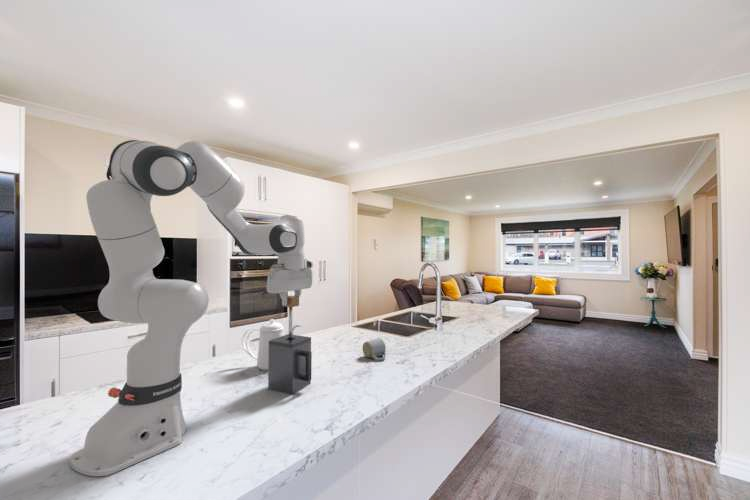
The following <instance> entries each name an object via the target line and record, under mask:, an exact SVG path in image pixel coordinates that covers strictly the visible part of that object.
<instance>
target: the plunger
mask: <svg viewBox="0 0 750 500" xmlns="http://www.w3.org/2000/svg"><path fill="white" fill-rule="evenodd" d="M286 297H287V300H289V305H282V304H281V306H282V307H283V308H285V307H286V308H288V334H289V340H292V328H293V308H294V307H299V306H300V297H299V296H294V295H286Z"/></svg>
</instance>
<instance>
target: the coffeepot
mask: <svg viewBox="0 0 750 500" xmlns="http://www.w3.org/2000/svg"><path fill="white" fill-rule="evenodd" d="M299 327H304V325H303V324H295V325H293V326H292V335H294V330H295V329H296V328H299ZM284 329H285V327H284V326H283V324H282V323H281V322H275V319H269V322H265V323H264V324H262V325H261V326H260V328H258V327H254V328H250V329H248V330H246V331H245V332H244V334H243V336H242V347H243V349H244V350H245V352H246V353H247V355H249V356H250V357H251V358H253V359H255V360H257V362H256V366H257V368H258V369H260V370H263V371H268V364H269V341H270V340H273V339H276V338H278V337H281V336H284V335H285V333H284ZM251 330H252V331H251ZM249 331H250V332H249ZM254 331H259V339H258V350H257V356H256V355H254V353H253V352H252V351H251V349H250V347H249V338H250V335H251V334H252V333H253V332H254ZM248 332H249V333H248ZM247 333H248V335H247V337H246V334H247ZM245 337H246V343H245Z"/></svg>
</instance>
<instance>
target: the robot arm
mask: <svg viewBox="0 0 750 500" xmlns="http://www.w3.org/2000/svg"><path fill="white" fill-rule="evenodd" d="M105 175H106V178H107V180H106V179H105V180H103V181H100V182H98V183H96V184H94V185H92V186H91V187H90V188H89V189H88V190H87V192H86V199H85V200H86V205H87V208H88V209H87V211H88V214H89V218H90V223H91V225H92V228H93V230H94V233H95V235H96V238H97V240H98V243H99V246H100V247H101V250H102V252H103V255H104V257H105V260H106V262H107V265H108V270H109V278H108V279H109V280H108V283H107V284H106V285H105V286H104V287H103V288H102V289H101V292H100V293H99V295H98V299H97V307H98V310H99V312H100V314H101V316H103V317H105V318H107V319H108V320H111V321H114V322H115V321H116V322H120V323H123V324H124V323H126V324H147V331H146V334H145V337H143V338H142V339H141V340H139V341H137V342H135V343H134V344H133V345H132V346H131V347H130V348H129V350H128V352H127V354H126V382H125V384H124V385H123V386H122V389H120V388H118V387H111V388H110V389H109V390H108V391H107V396H108V397H110V398H113V399H116V398H117V402H116V403H115V404H114V405H112V407H111V408H110V409H109V410H108V411H107V412H106V413H105V414H103V415H102V416H101V417H100V418H99V419H98V420H96V422H95V423H94V424H92V426H90V427H89V429H88V431H87V433H86V436H85V440H84V446H83V448H82V449H79V450H78V451H76V452H74V453H73V454H71V456H70V460H69V465H70V467H71V468H72V469H73V470H74V471H75V472H77V473H79V474H82V475H84V476H91V477H107V476H109V475H112V474H114V473H117V472H119V471H122V470H124V469H126V468H128V467H131V466H133V465H135V464H138V463H139V462H142V461H144V460H147V459H149V458H150V457H153V456H156V455H158V454H160V453H162V452H164V451H167V450H169V449H172V448H174V447H175V446H178V445H180V444H181V443H182V441H183V435H184V434H185V432H186V431H187V427H188V426H187V423H186V421H185V419H184V413H183V409H182V407H183V406H182V400H181V391H182V385H183V384H182V382H183V381H182V378H183V377H182V373H180V371H181V369H180V368H181V353H182V346H183V345H182V344H183V342H184V338H185V336H186V334H187V333H188V331H189V329H190V328H191V326H192V325H194V323H196V322H197V321H199V320H200V319H201V318H202V317H203V316H204V315H205V313H206V311H207V310H208V306H209V295H208V291H207V290H206V288H205V287H204V285H203V284H202V283H199V282H195V281H191V280H185V279H171V278H169V279H167V278H166V279H165V278H164V279H163V278H161V279H159V278H156V277H155V275H154V270H153V269H154V268H155V267H157V266H158V265H159V264H160V263H161V262H162V261H163V259H164V256H165V254H166V253H165V247H164V245H163V242H162V239H161V236H160V233H159V230H158V227H157V224H156V221H155V218H154V216H153V213H152V211H151V209H152V208H151V201H152V197H153V196H157V197H169V196H170V197H171V196H174V195H177V194H179V193H181V192H182V191H184V190H186V188H190V189H191V190H192V191H193V192H194V193H195V194H196V195H197V196H198V197H199V198H200V199H201V200H202V201H203V202H204V203H205V204H206V206H207V209H208V210H209V212H210V213H211V215H212V216H213V217H214V218H215V219H216V220H217V221H218V222H219V223H220V224H221V226H222V227H223V228H224V229H225V230H226V231H227V232H228V233H229V234H230V235H231V236H232V238H233V240H234V241H235V243H236V245H237V247H238V248H239V250H240V251H241V252H242V253H244V254H245V255H249V256H250V255H251V256H253V255H254V256H255V255H277V263H275V264H272V265H271V266H270V267H269V269H268V274H267V282H266V292H267V293H268V294H279V297H280V300H281V306H282V305H289V300H287V297H286V296H288V293H289V292H293V293H294V295H293V296H299V298H300V297H301V295H302V290H307V289H311V287H312V285H313V269H312V268H313V267H314V263H313V262H312V261H310V260H309V259H307V258H305V251H304V245H305V225H304V221H303V219H301V218H300V217H299V216H294V215H289V214H288V215H282V216H280V217H279V219H278V220H276V221H275V222H272V223H268V224H267V223H266V224H265V223H264V224H255V223H254V224H253V223H250V222H248V221H246V220H245V218H244V217H243V216H242V215H241V213H240V212H239V211H238V210H237V209H236V208H237V207H238V206H239V205H240V203H241V202H242V200H243V199H244V197H245V196H244V195H245V185H244V182H243V181H242V179H241V177H240V176H239V175H238V174H237V172H236V171H235V170H234V169H233V167H231V166H230V164H228V163H227V161H225V160H224V159H223V158H222V157H221V156H220V155H219V154H218V153H216V152H215V151H214V150H212V148H211V147H209V146H208V145H206V144H204V143H203V142H201V141H196V140H192V141H191V140H190V141H187V142H185V143H182V144H180V145H179V146H177V148H176V149H175V148H173V147H170V146H165V145H161V144H158V143H157V142H153V141H149V140H139V139H138V140H137V139H132V140H131V139H130V140H127V141H123V142H120V143H119V144H117V145H116V146H115V147H114V148H113V149H112V152H111V154H110V158H109V164H108V167H107V170H106V174H105Z"/></svg>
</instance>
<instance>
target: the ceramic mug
mask: <svg viewBox="0 0 750 500" xmlns="http://www.w3.org/2000/svg"><path fill="white" fill-rule="evenodd" d="M386 347H387V346H386V343H385V342H384V340H383V339H382V338H381V337H377V338H374V339H370V340H367V341H365V342H364V343H363V345H362V352H363V355H364V357H366V358H367V359H374V360H375V361H377V362H378V361H379V362H382V360H383V361H384V360H385V359H386V355H387V354H386V350H387V348H386ZM382 356H383V357H382Z"/></svg>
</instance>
